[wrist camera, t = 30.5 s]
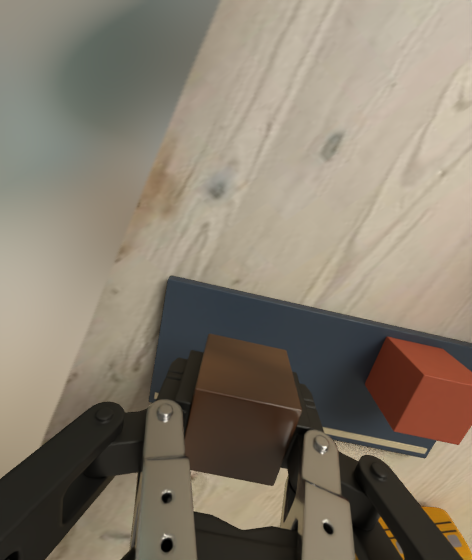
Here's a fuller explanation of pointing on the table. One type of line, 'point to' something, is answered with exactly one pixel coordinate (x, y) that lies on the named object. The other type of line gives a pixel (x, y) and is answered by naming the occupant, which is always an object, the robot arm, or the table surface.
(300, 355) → the navy hardcover book
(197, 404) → the walnut block
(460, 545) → the toy bus
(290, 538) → the robot arm
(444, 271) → the table surface
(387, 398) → the rust block
